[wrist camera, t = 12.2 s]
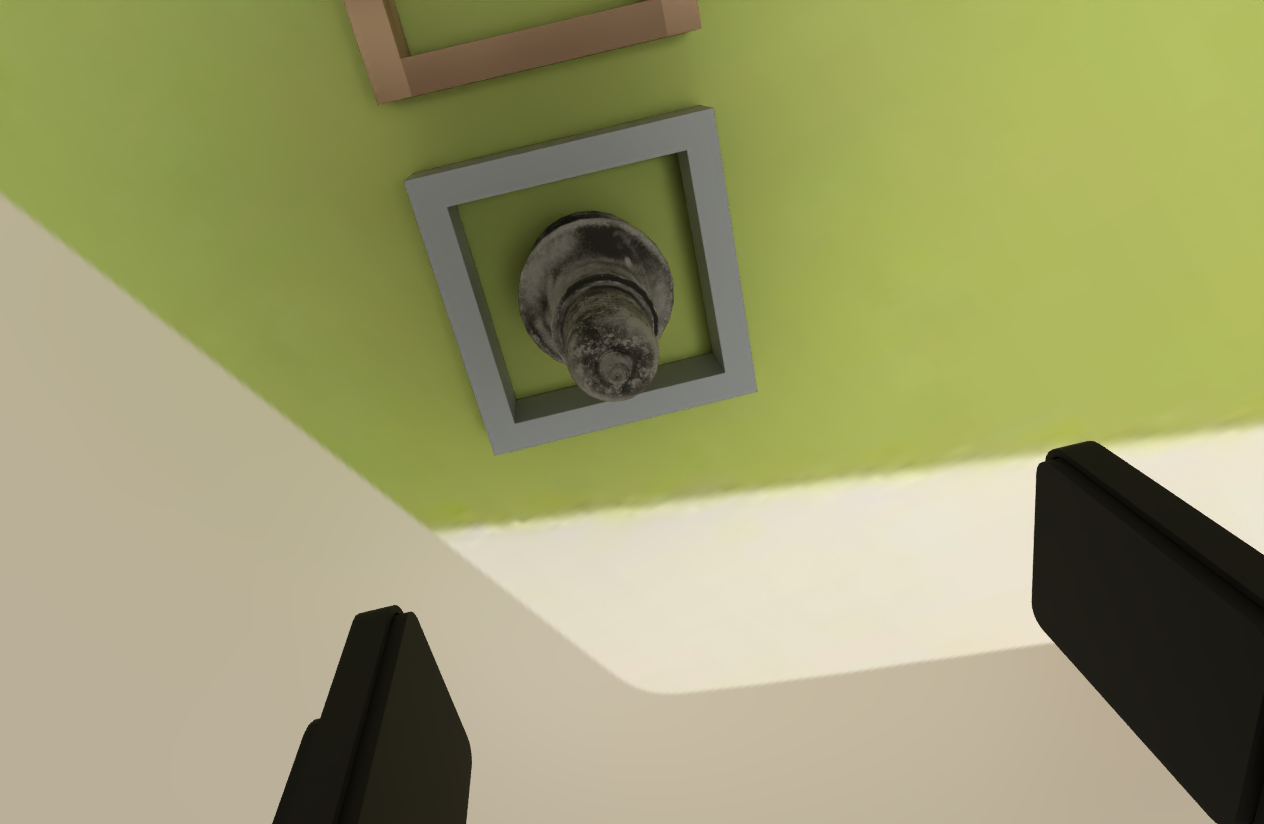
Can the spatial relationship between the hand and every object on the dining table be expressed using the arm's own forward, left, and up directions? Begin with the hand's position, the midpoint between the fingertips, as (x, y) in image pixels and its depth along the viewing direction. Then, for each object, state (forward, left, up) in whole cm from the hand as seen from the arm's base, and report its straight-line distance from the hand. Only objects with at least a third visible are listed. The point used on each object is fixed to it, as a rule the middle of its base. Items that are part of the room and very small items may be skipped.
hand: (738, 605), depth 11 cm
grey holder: (+1, -1, -22) cm, 22 cm away
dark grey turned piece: (0, -1, -23) cm, 23 cm away
